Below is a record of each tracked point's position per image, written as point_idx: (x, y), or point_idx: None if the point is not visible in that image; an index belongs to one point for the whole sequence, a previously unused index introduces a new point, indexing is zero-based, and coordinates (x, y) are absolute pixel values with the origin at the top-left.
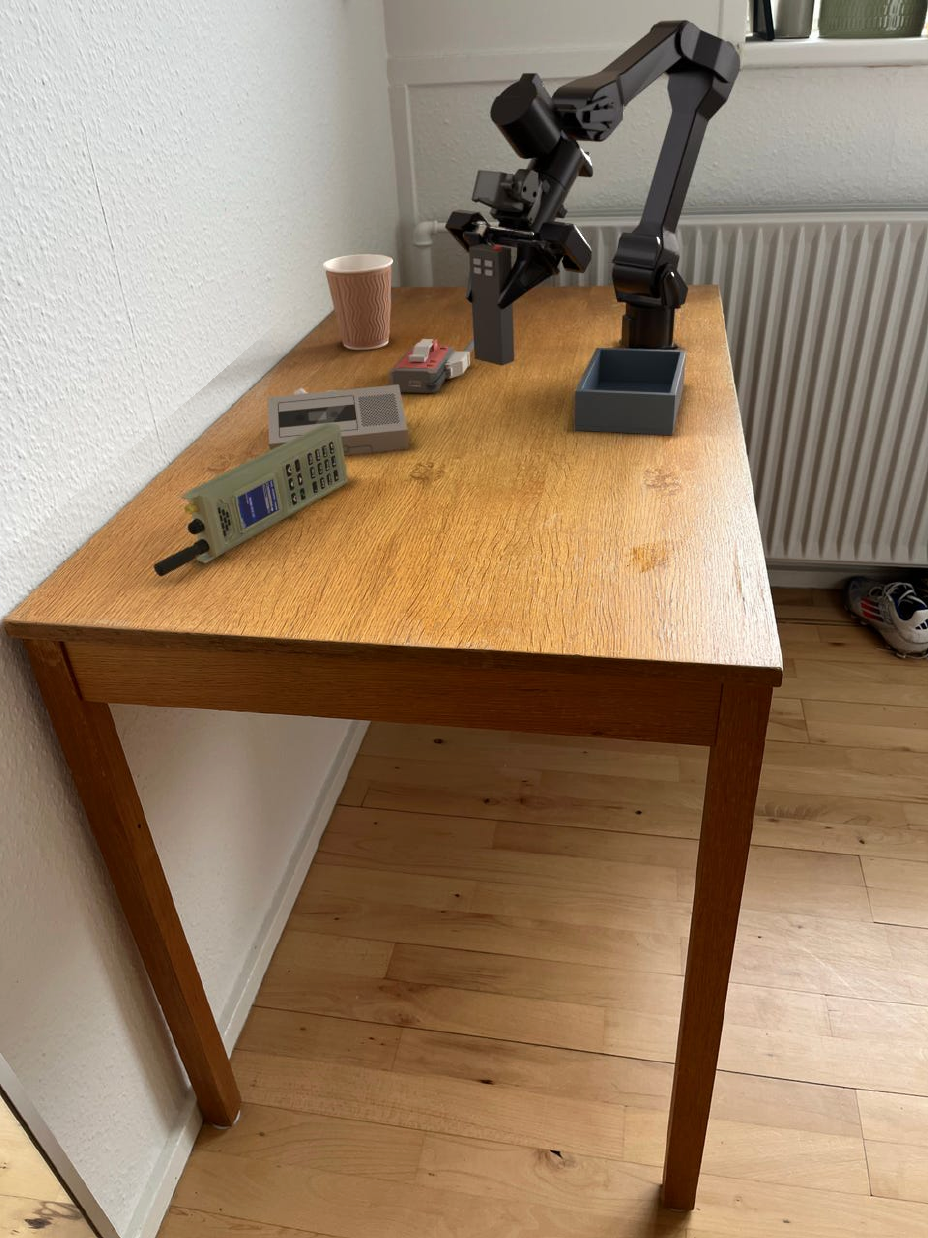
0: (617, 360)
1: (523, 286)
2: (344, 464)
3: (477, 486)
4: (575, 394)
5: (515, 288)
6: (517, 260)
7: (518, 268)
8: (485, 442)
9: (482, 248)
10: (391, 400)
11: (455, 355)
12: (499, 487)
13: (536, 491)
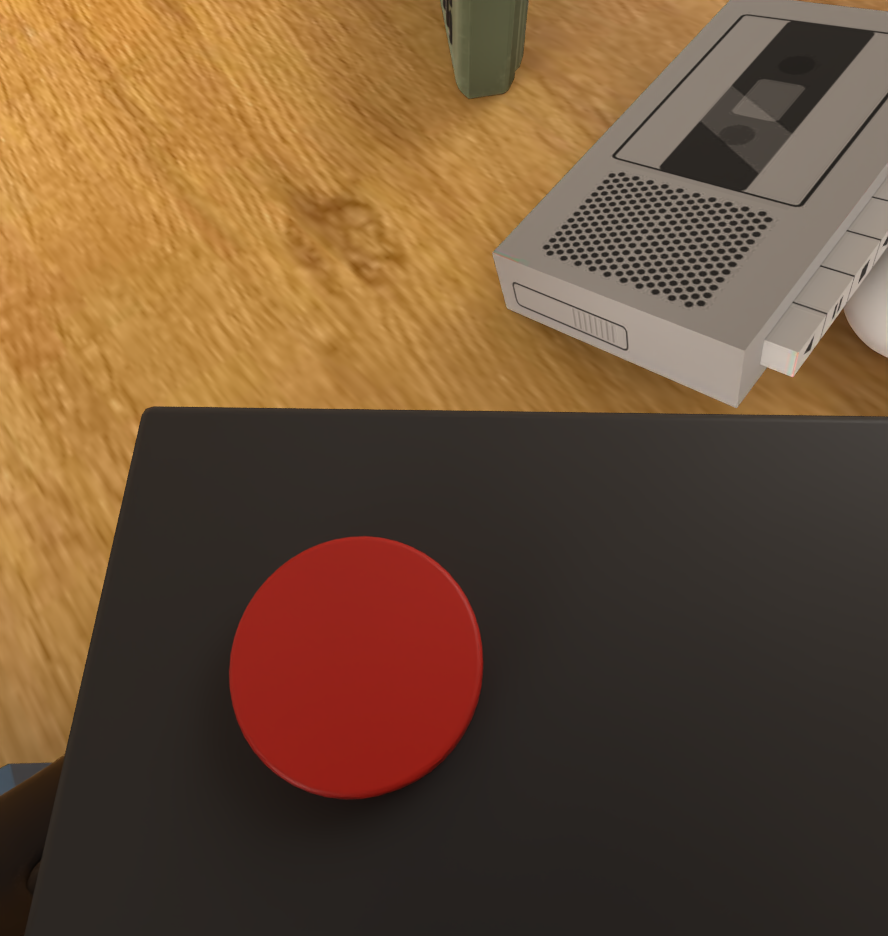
0: None
1: None
2: (455, 37)
3: (167, 257)
4: (16, 764)
5: None
6: (6, 931)
7: (15, 814)
8: None
9: (796, 500)
10: (667, 285)
11: None
12: (111, 283)
13: (9, 320)
